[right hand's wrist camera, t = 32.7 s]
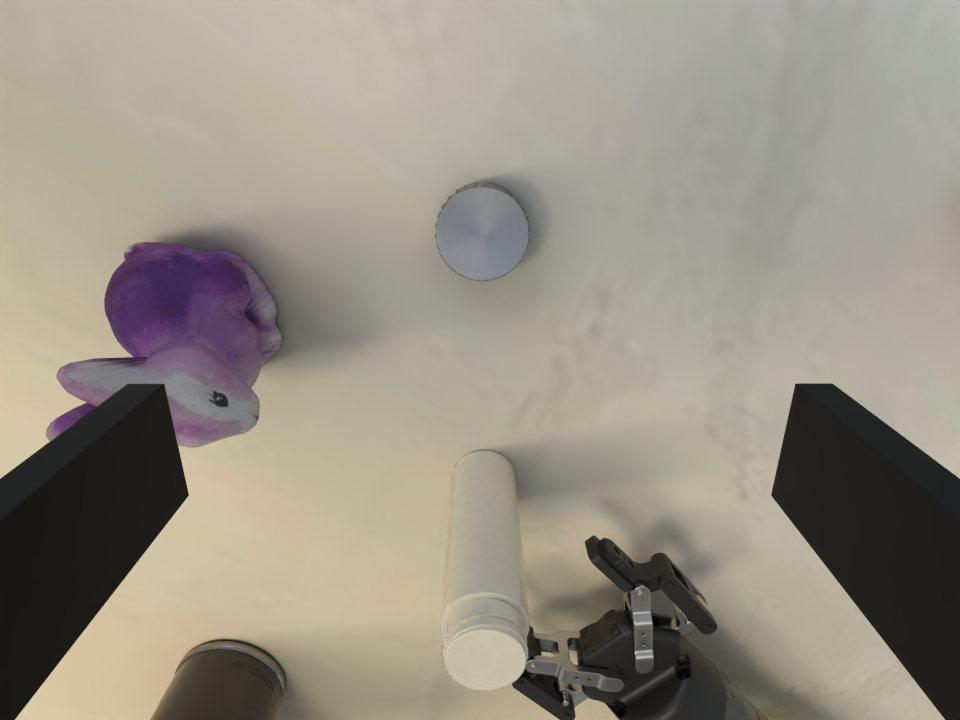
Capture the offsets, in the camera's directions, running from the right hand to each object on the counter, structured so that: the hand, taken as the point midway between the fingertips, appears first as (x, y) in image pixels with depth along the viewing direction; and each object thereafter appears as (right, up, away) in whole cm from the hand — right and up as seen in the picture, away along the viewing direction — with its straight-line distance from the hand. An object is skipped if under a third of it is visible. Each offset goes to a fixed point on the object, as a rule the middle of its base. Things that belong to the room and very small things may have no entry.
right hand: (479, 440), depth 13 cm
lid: (0, +9, +23) cm, 25 cm away
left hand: (+4, -13, +28) cm, 31 cm away
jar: (0, -7, +32) cm, 33 cm away
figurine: (-17, +5, +27) cm, 33 cm away
